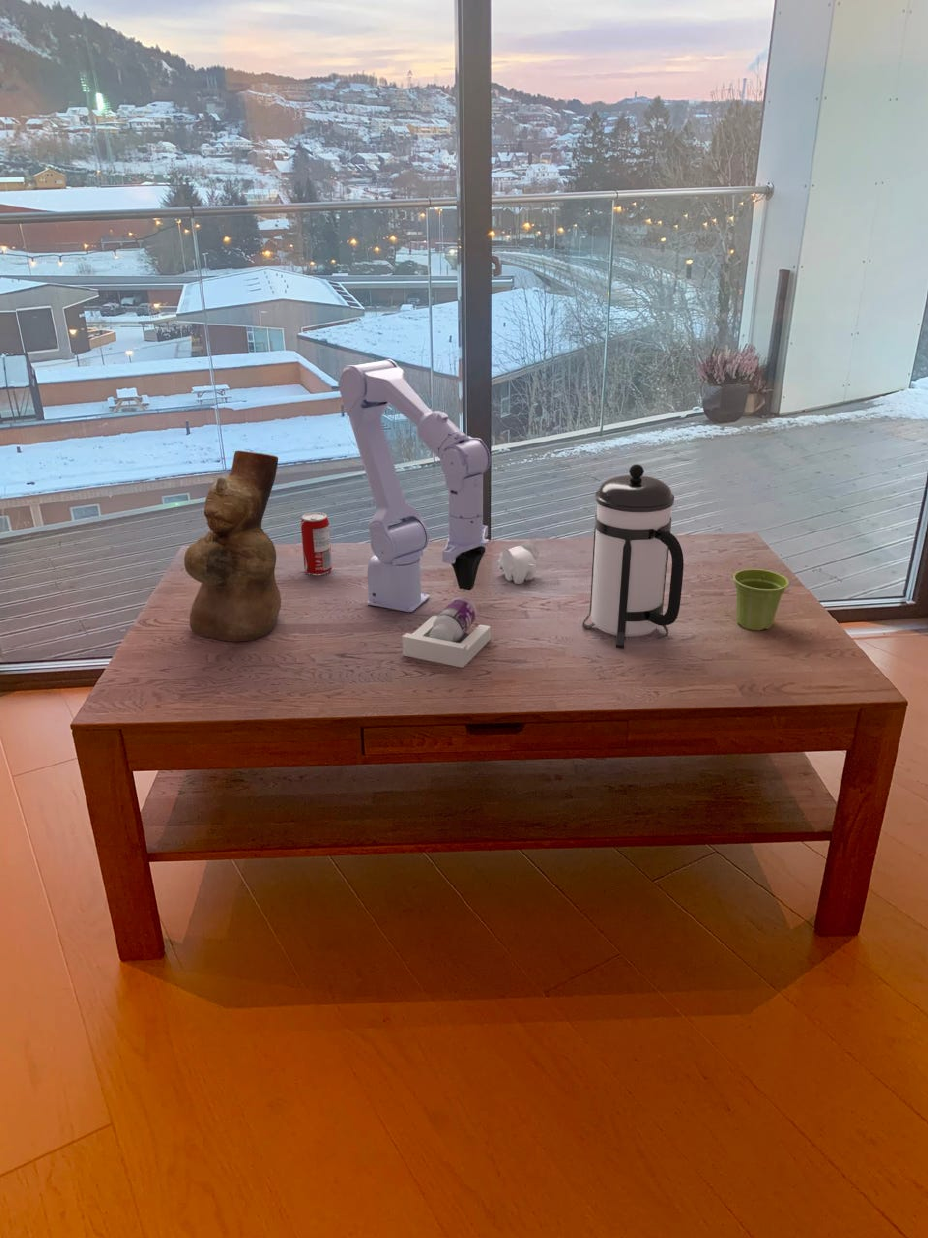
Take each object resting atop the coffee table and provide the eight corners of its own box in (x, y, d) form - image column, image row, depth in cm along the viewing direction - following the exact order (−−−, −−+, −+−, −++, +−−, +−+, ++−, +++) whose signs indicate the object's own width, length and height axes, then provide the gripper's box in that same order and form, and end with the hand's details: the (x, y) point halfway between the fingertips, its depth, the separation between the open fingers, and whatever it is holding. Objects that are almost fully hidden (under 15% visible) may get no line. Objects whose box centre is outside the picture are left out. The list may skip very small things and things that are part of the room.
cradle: (403, 655, 158) (402, 636, 156) (433, 628, 167) (433, 610, 166) (462, 667, 154) (462, 648, 152) (490, 639, 163) (490, 621, 162)
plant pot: (785, 618, 171) (792, 573, 167) (778, 639, 163) (784, 592, 159) (732, 609, 174) (738, 565, 171) (723, 629, 166) (728, 584, 163)
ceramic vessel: (172, 633, 166) (147, 467, 154) (252, 590, 184) (236, 437, 171) (243, 652, 159) (223, 479, 147) (319, 605, 177) (307, 447, 164)
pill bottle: (481, 622, 164) (457, 653, 157) (454, 622, 167) (430, 652, 160) (473, 595, 162) (449, 625, 154) (447, 595, 164) (421, 625, 157)
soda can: (309, 565, 195) (304, 509, 190) (335, 566, 195) (331, 510, 190) (301, 575, 190) (296, 518, 185) (327, 576, 190) (323, 519, 185)
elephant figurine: (510, 566, 194) (510, 533, 191) (546, 578, 188) (547, 545, 185) (484, 576, 189) (485, 543, 186) (521, 589, 183) (522, 555, 180)
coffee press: (571, 645, 161) (579, 474, 148) (592, 609, 175) (601, 449, 162) (673, 661, 155) (691, 484, 143) (687, 622, 169) (704, 458, 157)
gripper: (470, 529, 150) (470, 607, 156) (504, 503, 162) (503, 577, 168) (430, 523, 153) (431, 600, 159) (466, 498, 165) (467, 571, 171)
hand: (466, 588), depth 164 cm, fingers closed
